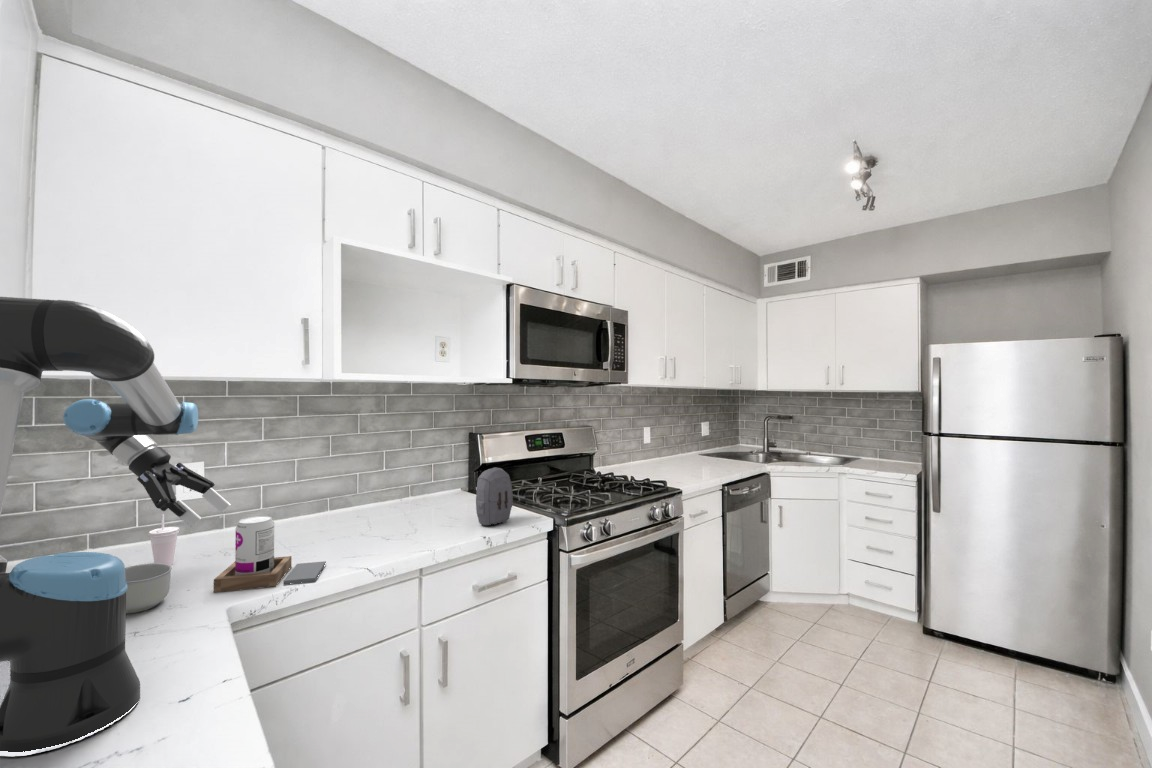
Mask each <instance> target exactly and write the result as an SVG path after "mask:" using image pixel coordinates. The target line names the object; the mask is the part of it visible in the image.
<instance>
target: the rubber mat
mask: <svg viewBox="0 0 1152 768" xmlns="http://www.w3.org/2000/svg"><path fill="white" fill-rule="evenodd" d="M325 563H326V564H327V561H326V560H324V561H313V562H302V563H301V562H300V563H296V564H295V566H294V567H293V568H292V570H291V571H290V572H289V573H288V574H287V576H286V577H284V578H285V579H283V583H282V584H288V585H291V584H290V583H298V584H302V583H301V582H309V583H315V582H316V581H317V580H318V578H319V577H318V575H319V574H320V575H321V573H322V572H321V570H322V569H323V567H324V565H325ZM324 568H325V567H324ZM323 570H324V569H323ZM323 570H322V571H323ZM320 572H321V573H320ZM320 575H319V576H320ZM317 577H318V578H317ZM316 579H317V580H316Z"/></svg>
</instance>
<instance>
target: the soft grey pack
mask: <svg viewBox="0 0 1152 768" xmlns="http://www.w3.org/2000/svg"><path fill="white" fill-rule="evenodd" d="M513 499H514V496H513V483H512V481H511V476H510V474H509V473H508V472H507V471H505V470H504V469H503V468H501V467H492V468H488V469H486V470H484V471H482V472H481V474H479V476H478V478H477V483H476V495H475V509H476V510H475V511H476V512H475V513H476V516H477V519H478V523H479V524H480V525H482V524H483V526H492V525H491V524H494V525H498V524H497V523H499V524H502V523H504V522H507V521H508V520H510V517H511V510H512V508H513ZM501 522H502V523H501Z"/></svg>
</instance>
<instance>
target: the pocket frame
mask: <svg viewBox="0 0 1152 768" xmlns="http://www.w3.org/2000/svg"><path fill="white" fill-rule="evenodd" d="M290 567H291V568H292V556H291V555H289V556H280V557H279V556H278V557H277V556H276V557H275V556H274V570H273V571H272V572H270V573H258V574H247V575H236V576H235V561H234V562H233V563H231V564H230V565H229V566H228V567H226V568H225V569H224V570H223V571H222V572H221V573H219V575H217V576H216V577H215V578H213V593H221V592H233V591H241V590H240V589H244V590H251V589H250V588H254V589H259V588H258V587H264V588H268V587H267V586H275V587H277V586H278V584H279V583H280V582H281V581H282V580H281V578H282V577H283V576H284V574H285V573H286V572H287V571H288V570H289V568H290ZM289 571H290V570H289ZM289 571H288V572H289ZM288 572H287V573H288ZM287 573H286V574H287ZM284 577H285V576H284ZM284 577H283V578H284ZM283 578H282V579H283ZM280 580H281V581H280ZM279 581H280V582H279ZM278 582H279V583H278ZM277 583H278V584H277ZM276 585H277V586H276Z"/></svg>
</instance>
